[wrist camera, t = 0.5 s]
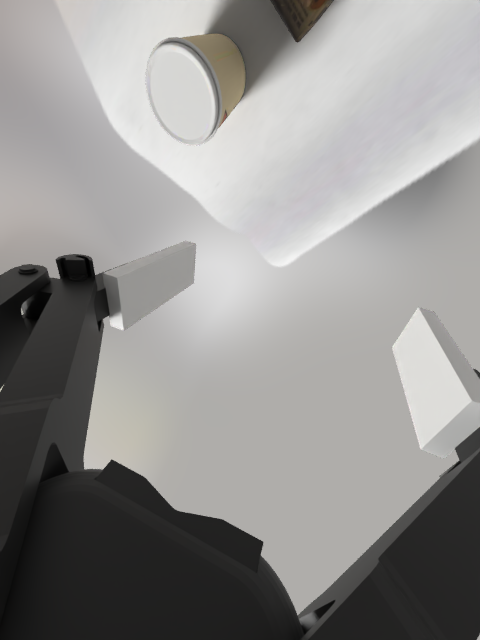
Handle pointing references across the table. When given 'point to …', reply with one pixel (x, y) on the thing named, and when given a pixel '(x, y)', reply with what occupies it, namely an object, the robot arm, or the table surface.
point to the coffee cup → (194, 85)
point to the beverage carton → (300, 14)
